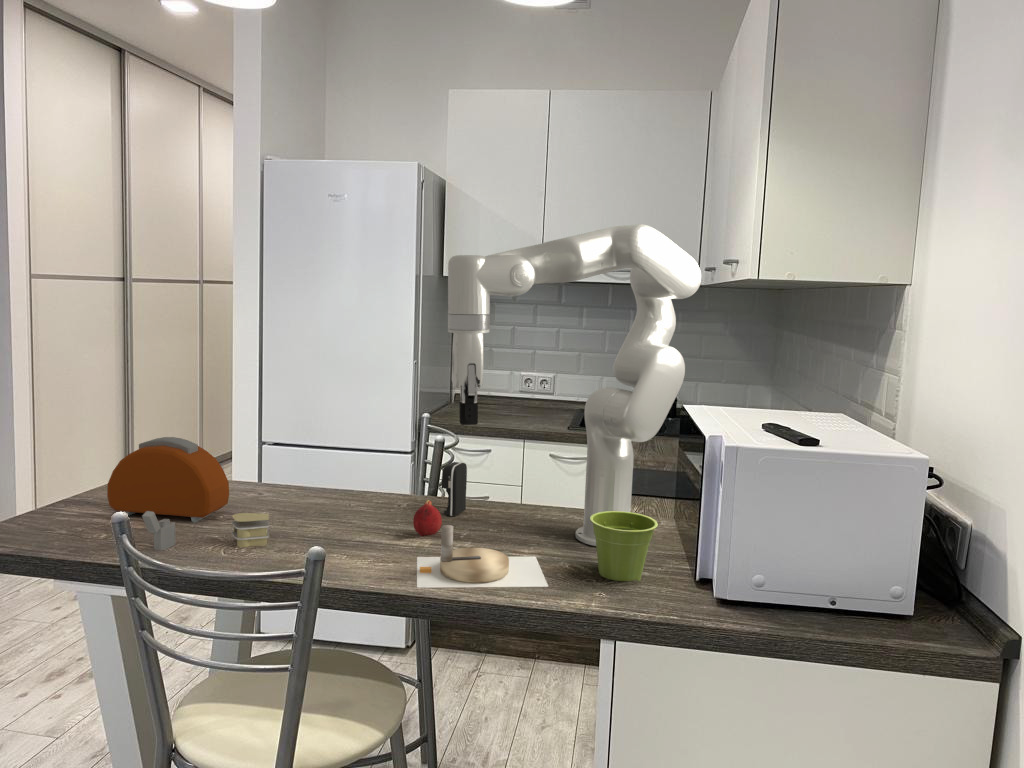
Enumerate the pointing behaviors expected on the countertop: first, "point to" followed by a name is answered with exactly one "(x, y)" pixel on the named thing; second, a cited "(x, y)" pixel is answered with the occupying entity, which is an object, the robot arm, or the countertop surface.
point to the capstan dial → (470, 561)
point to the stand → (519, 575)
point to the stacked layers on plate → (251, 529)
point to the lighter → (160, 531)
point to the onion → (427, 520)
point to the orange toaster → (168, 480)
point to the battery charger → (455, 487)
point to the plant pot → (622, 543)
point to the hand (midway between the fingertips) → (468, 423)
